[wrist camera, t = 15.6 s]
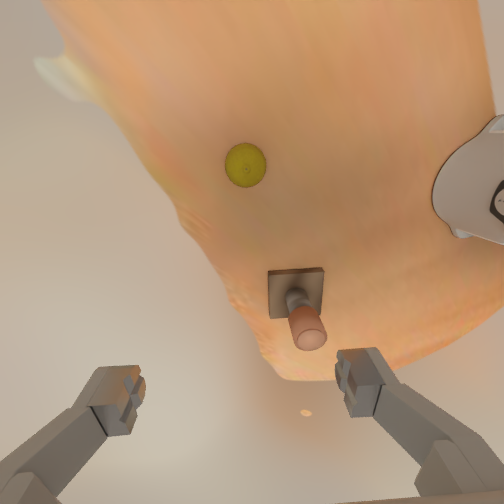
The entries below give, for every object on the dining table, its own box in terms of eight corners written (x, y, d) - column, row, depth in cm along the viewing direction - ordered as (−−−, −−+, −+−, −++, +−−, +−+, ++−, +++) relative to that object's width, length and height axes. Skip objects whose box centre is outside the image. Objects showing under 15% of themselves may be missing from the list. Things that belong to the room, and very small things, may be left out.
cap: (295, 303, 38) (302, 324, 34) (323, 309, 39) (333, 331, 34) (283, 326, 40) (289, 349, 36) (311, 332, 41) (319, 355, 37)
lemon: (271, 164, 36) (278, 171, 29) (243, 189, 37) (244, 201, 30) (246, 133, 34) (247, 132, 27) (218, 161, 35) (213, 167, 28)
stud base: (321, 267, 44) (336, 291, 37) (318, 310, 48) (330, 338, 42) (268, 271, 44) (272, 295, 37) (269, 313, 48) (273, 342, 42)
